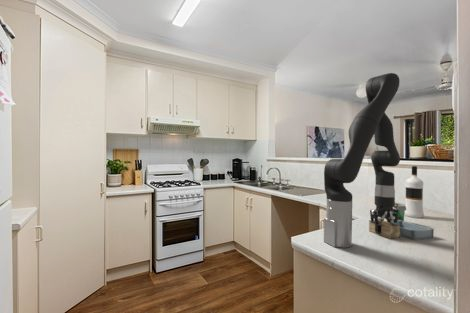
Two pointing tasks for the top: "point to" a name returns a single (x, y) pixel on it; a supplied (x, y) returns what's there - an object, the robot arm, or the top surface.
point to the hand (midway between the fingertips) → (384, 232)
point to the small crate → (386, 229)
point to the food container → (400, 211)
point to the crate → (414, 230)
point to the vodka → (414, 196)
